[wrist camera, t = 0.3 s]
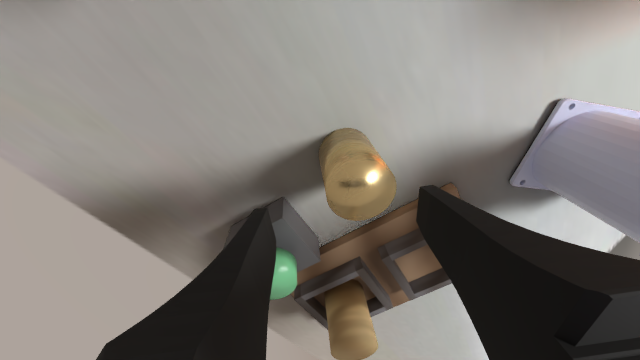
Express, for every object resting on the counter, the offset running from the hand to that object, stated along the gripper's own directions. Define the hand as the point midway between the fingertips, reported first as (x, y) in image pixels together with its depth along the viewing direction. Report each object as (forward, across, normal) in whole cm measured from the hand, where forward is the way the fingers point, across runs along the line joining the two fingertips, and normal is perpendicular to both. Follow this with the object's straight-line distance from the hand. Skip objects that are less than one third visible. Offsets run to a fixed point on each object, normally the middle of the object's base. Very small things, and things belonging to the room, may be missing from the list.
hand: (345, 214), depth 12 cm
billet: (+9, -2, +1) cm, 10 cm away
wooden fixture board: (+9, -5, +16) cm, 19 cm away
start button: (+5, +6, +9) cm, 12 cm away
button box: (+9, +6, +9) cm, 14 cm away
